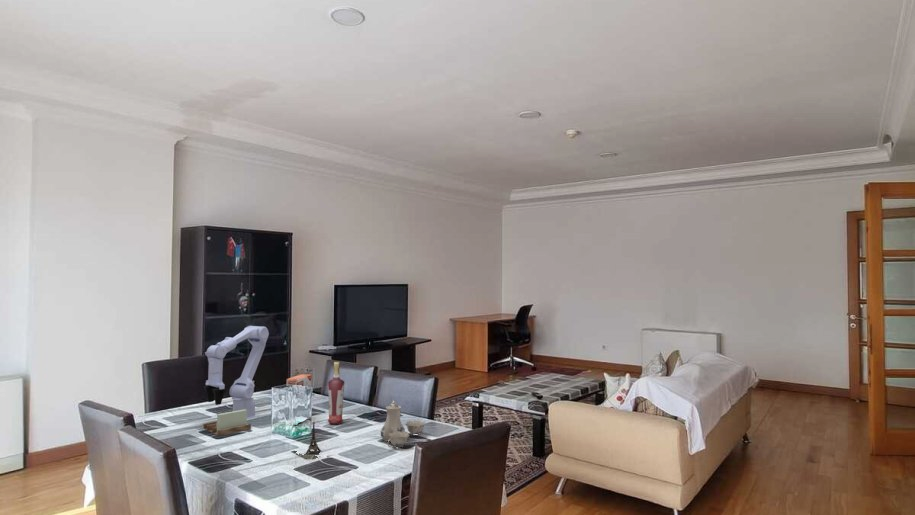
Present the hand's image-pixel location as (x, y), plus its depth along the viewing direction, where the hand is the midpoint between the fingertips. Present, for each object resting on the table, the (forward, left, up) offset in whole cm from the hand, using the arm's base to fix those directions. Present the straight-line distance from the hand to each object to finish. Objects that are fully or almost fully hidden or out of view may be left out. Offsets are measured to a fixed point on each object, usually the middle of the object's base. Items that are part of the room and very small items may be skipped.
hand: (214, 403), depth 237 cm
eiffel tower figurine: (-11, +62, -11) cm, 64 cm away
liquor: (-42, +33, -11) cm, 54 cm away
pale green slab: (-2, +14, -10) cm, 17 cm away
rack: (-2, +9, -10) cm, 14 cm away
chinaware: (-46, +73, -11) cm, 87 cm away
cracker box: (-31, +19, -11) cm, 38 cm away
